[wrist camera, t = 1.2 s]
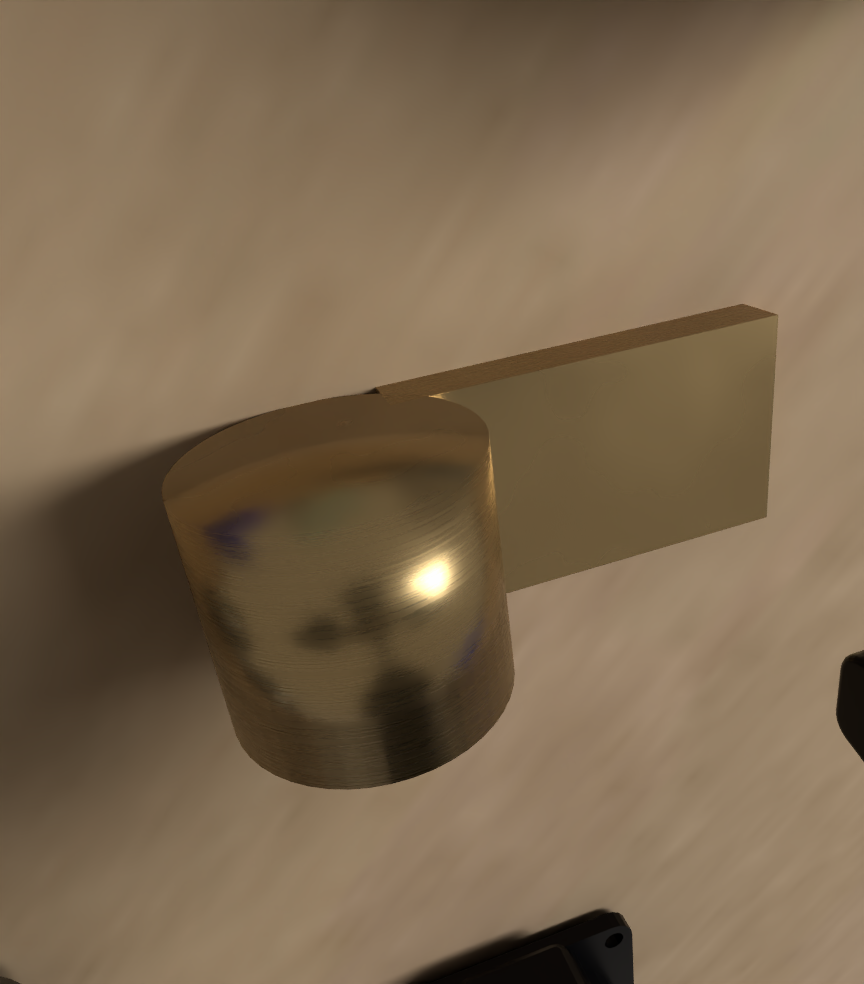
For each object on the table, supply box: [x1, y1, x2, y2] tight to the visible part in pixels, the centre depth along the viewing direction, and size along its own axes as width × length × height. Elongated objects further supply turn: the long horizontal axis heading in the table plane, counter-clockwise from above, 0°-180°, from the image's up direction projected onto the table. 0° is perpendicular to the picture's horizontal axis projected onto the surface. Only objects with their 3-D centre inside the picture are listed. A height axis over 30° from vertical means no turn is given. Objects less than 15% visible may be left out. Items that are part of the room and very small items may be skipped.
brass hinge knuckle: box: [161, 304, 778, 789], centre depth 13 cm, size 4×10×4 cm, turn 97°
